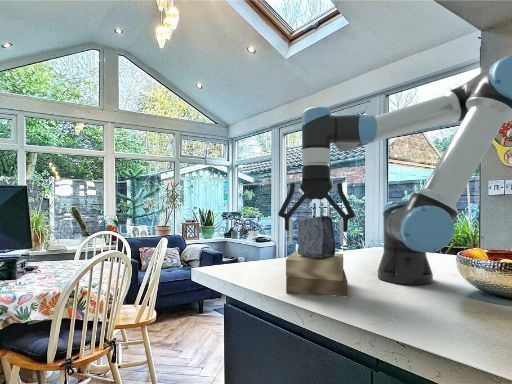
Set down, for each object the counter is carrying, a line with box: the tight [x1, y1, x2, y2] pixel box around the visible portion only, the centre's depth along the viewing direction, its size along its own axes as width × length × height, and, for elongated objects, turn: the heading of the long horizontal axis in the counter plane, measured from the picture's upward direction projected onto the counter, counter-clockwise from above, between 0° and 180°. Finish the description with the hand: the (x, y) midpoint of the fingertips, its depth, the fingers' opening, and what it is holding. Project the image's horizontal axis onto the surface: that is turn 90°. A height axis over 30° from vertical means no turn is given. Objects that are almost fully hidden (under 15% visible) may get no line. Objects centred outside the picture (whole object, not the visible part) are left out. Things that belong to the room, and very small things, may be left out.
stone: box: [297, 215, 336, 259], centre depth 94 cm, size 12×10×10 cm
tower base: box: [285, 268, 348, 297], centre depth 93 cm, size 15×15×4 cm
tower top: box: [285, 251, 344, 281], centre depth 94 cm, size 14×14×4 cm
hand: (315, 243), depth 94 cm, fingers open, 13 cm apart
